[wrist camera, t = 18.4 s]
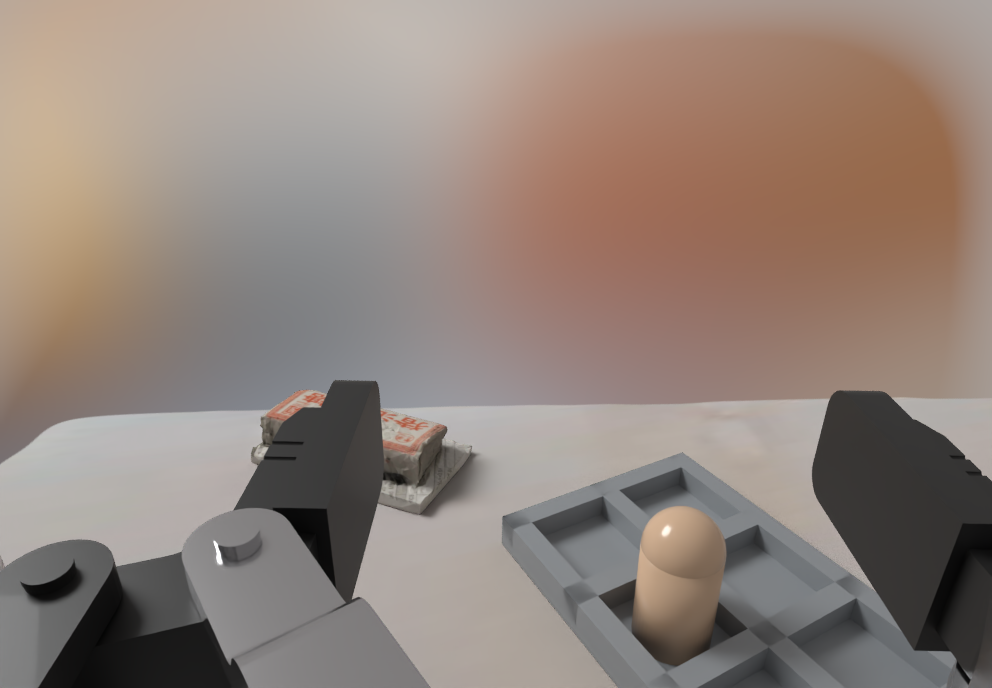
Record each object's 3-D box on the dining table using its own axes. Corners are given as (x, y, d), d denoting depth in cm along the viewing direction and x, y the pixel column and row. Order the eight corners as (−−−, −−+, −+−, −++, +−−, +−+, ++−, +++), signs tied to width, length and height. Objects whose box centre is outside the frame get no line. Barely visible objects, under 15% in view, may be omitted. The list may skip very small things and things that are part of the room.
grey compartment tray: (501, 543, 53) (502, 516, 52) (678, 476, 61) (682, 452, 60) (775, 882, 32) (786, 849, 31) (988, 714, 40) (1003, 684, 39)
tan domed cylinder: (615, 621, 45) (626, 505, 41) (672, 593, 48) (688, 480, 44) (668, 678, 41) (686, 556, 37) (727, 644, 44) (751, 525, 40)
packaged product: (239, 421, 60) (310, 373, 69) (247, 467, 62) (315, 415, 71) (419, 472, 54) (473, 412, 62) (421, 521, 56) (473, 457, 64)
